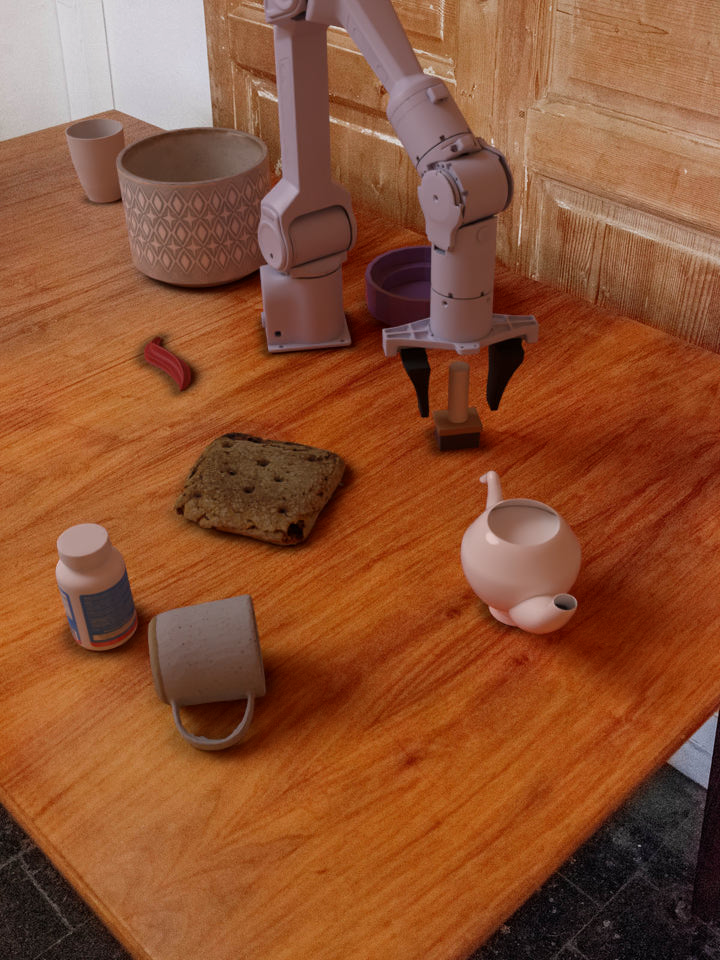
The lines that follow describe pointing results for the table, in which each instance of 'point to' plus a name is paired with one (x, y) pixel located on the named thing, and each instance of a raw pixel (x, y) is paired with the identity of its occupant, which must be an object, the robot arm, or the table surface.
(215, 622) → the ceramic mug
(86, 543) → the pill bottle
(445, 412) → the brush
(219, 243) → the planter
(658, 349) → the table surface
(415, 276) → the bowl
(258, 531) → the pastry
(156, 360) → the cayenne pepper
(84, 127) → the cup
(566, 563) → the teapot
